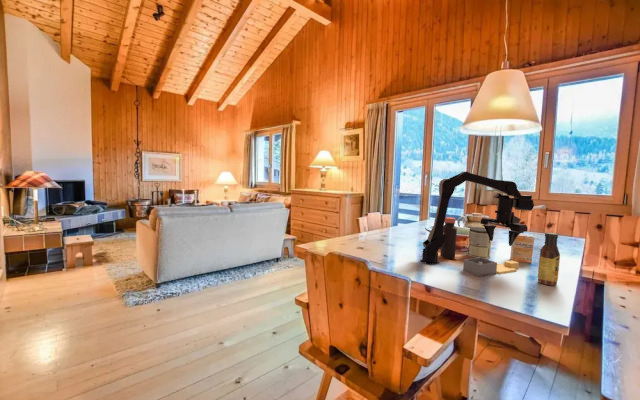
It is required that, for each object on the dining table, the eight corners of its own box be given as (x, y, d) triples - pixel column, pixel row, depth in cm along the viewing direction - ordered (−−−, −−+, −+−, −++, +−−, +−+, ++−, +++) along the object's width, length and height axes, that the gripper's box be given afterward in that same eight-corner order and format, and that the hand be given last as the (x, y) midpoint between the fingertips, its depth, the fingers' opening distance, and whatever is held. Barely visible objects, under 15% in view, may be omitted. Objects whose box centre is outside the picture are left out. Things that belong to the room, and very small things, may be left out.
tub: (478, 276, 122) (479, 264, 122) (463, 270, 130) (463, 259, 129) (496, 274, 126) (497, 262, 125) (479, 268, 133) (480, 257, 133)
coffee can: (464, 252, 159) (466, 226, 158) (484, 253, 158) (486, 227, 157) (472, 258, 149) (474, 230, 147) (494, 259, 148) (496, 231, 146)
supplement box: (512, 261, 145) (514, 234, 144) (510, 258, 150) (512, 233, 149) (532, 263, 142) (534, 236, 141) (529, 260, 147) (531, 234, 145)
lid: (499, 274, 126) (499, 268, 126) (481, 268, 134) (482, 262, 134) (524, 270, 132) (524, 264, 132) (506, 264, 140) (506, 258, 139)
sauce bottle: (558, 287, 112) (563, 236, 110) (537, 284, 115) (542, 233, 113) (555, 282, 118) (561, 233, 116) (536, 279, 121) (541, 231, 119)
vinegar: (437, 255, 152) (439, 217, 150) (448, 255, 154) (451, 216, 152) (446, 259, 145) (448, 219, 143) (457, 258, 147) (460, 219, 145)
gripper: (538, 212, 127) (533, 247, 129) (498, 206, 144) (494, 237, 146) (520, 212, 123) (516, 249, 124) (481, 206, 140) (477, 238, 142)
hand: (500, 243), depth 134 cm, fingers open, 9 cm apart
